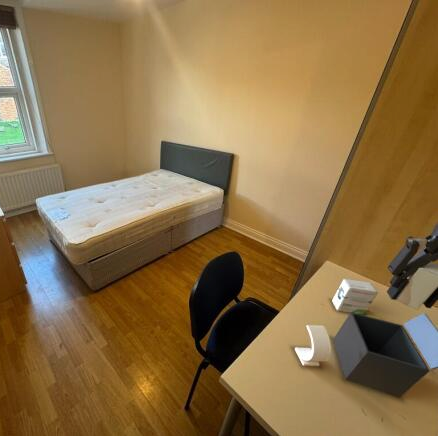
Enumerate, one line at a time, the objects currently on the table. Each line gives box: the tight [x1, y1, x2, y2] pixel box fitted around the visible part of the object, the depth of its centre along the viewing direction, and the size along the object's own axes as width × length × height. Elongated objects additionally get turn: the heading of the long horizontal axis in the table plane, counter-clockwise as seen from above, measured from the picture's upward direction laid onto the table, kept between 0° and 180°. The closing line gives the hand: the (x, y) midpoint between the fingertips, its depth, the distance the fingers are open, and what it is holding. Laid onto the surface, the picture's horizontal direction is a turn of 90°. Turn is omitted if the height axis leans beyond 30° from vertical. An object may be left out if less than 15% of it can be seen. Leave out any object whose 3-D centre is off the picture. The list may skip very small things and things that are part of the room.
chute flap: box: [403, 312, 438, 371], centre depth 58 cm, size 6×13×1 cm
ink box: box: [331, 278, 379, 316], centre depth 83 cm, size 9×5×12 cm, turn 75°
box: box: [395, 262, 438, 311], centre depth 56 cm, size 5×4×11 cm
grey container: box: [333, 312, 431, 399], centre depth 65 cm, size 12×13×14 cm
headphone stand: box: [294, 324, 332, 367], centre depth 68 cm, size 5×6×12 cm
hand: (407, 299), depth 58 cm, fingers closed on box, 6 cm apart
